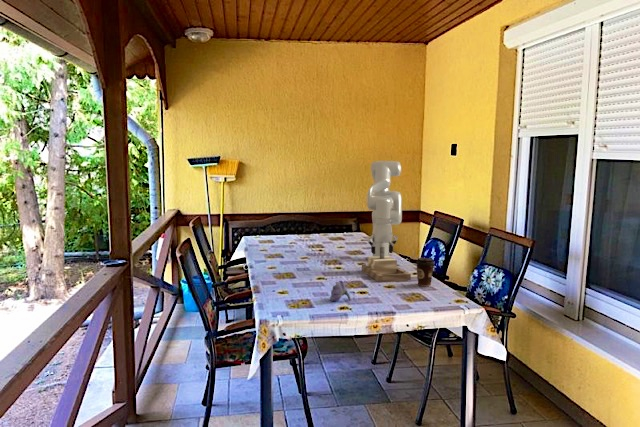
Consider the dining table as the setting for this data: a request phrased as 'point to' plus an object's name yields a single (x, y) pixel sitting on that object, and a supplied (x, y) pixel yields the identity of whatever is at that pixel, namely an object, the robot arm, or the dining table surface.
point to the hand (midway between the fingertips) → (382, 253)
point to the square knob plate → (382, 263)
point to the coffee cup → (424, 271)
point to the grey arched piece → (338, 292)
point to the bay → (387, 275)
